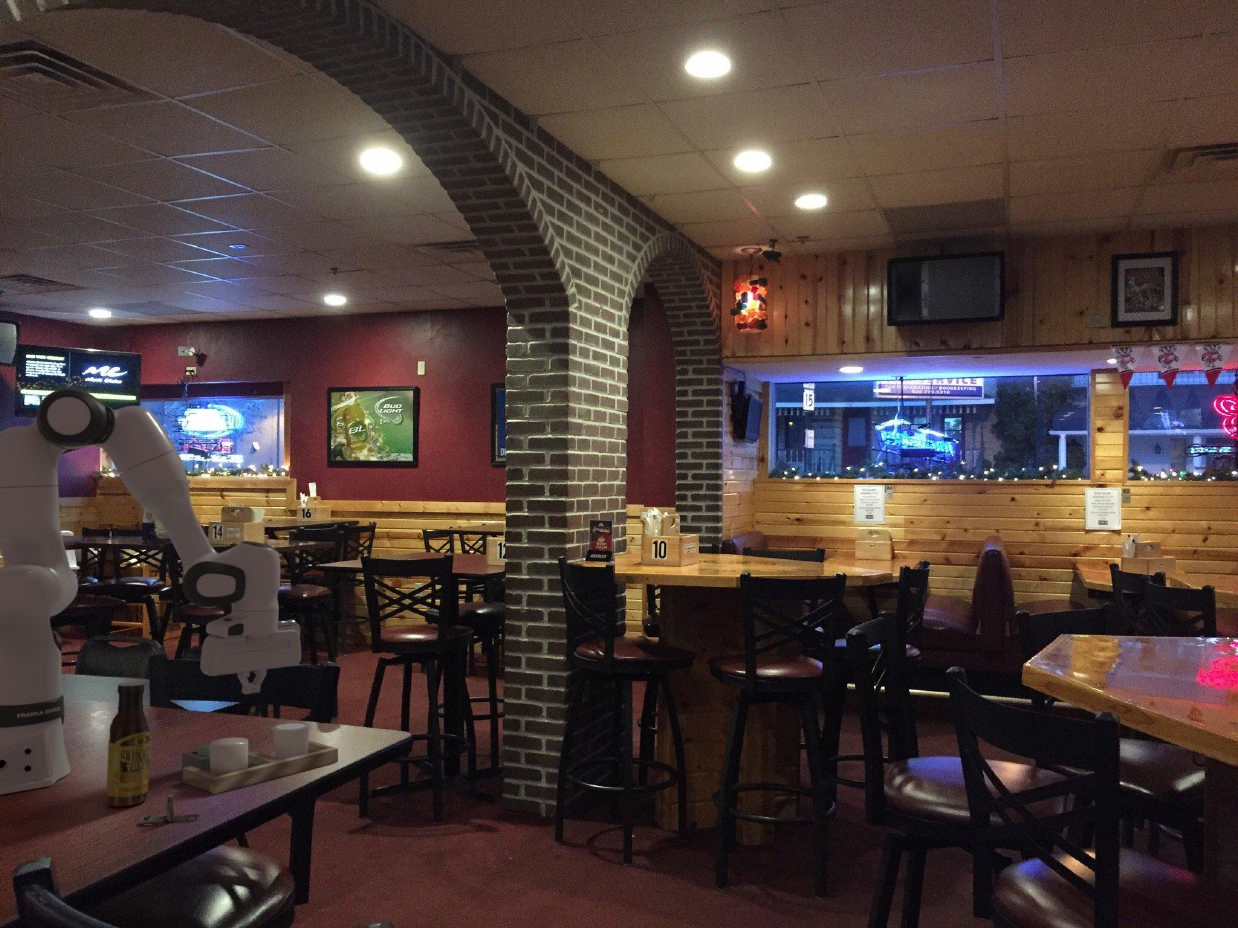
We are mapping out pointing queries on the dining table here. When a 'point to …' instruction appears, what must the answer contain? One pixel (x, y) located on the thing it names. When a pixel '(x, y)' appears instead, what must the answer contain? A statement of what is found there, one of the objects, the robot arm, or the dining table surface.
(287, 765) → the frame
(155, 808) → the dining table surface
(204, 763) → the button box
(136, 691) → the sauce bottle
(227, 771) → the white cylinder puck
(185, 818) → the strap clip
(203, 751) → the button
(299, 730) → the white tapered cup
